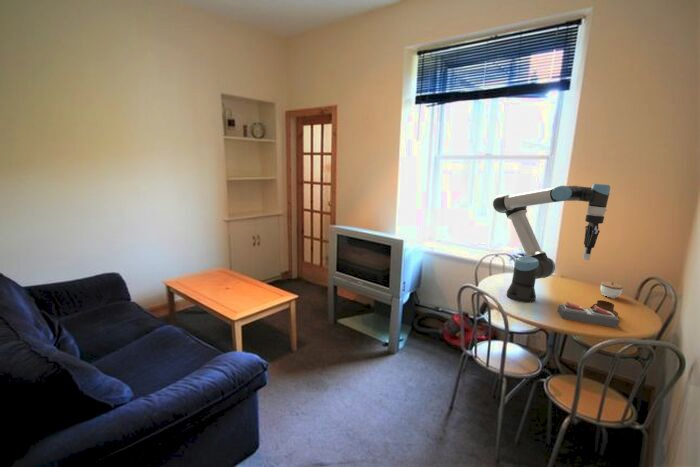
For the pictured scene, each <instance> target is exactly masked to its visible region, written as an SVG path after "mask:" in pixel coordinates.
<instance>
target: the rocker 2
mask: <svg viewBox="0 0 700 467" xmlns="http://www.w3.org/2000/svg"><path fill="white" fill-rule="evenodd" d="M593 305H594V304H593ZM593 308H594V309H595V310H597V311H599V312H601V313H604V314H606V315H612V314H611V313H610V312H609V311H606V310H604V309H602V308H599V307H597V306H596V305H594V307H593Z"/></svg>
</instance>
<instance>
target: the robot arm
mask: <svg viewBox="0 0 700 467" xmlns="http://www.w3.org/2000/svg"><path fill="white" fill-rule="evenodd" d="M610 192H611V186H610V185H609V184H604V183H603V184H602V183H592V186H590V187H589V186H579V185H559V186H558V185H557V186H555V187H551V188H545V189H539V190H534V191H529V192H528V191H527V192H523V193H518V194H517V193H513V194H512V193H504V194H503V193H502V194H499V195H497V196H495V198H494V199H493V202H492V207H493V209H494V210H495V212H498V213H500V214H505V216H506V218H507V219H509V220H511V223H512V225H513V228H514V230H515V233H516V234H517V237H518V239H519V241H520V244H521V247H522V249H523V252H524V253H525V255H524V256H519V257H517V258H516V259H515V262H514V267H513V274H512V279H511V283H510V285H509V286H508V288H507V290H506V296H507V298H510V299H511V300H514V301H518V302H521V303H534V302H536V299H537V295H536V288H535V284H536V280H538V279H545V278H548V277H551V276H552V275H553V274H554V273H555V270H556V264H555V262H554V260H553V259H552V258H550V257H548V256H547V252H546V251H542V249H541V246H540V244H539V242H538V239H537V238H536V235H535V233H534V230H533V228H532V226H531V223H530V222H529V219H528V217H527V212H528V210H527V208H528V207H530V206H531V207H532V206H538V205H544V204H545V205H546V204H552V203H560V202H569V201H570V202H576V201H577V202H586V203H588V205H587V209H586V216H585V222H586V223H588V224H587V226H586V225H585V227H584V228H585V232H584V241H583V245H584V249H583V255H582V260H584V261H585V260H586V261H590V260H591V254H592V250H593V248H595V246H596V242H597V240H598V236H599V234H600V232H601V230H600V229H599V224H600V225H601V224H603V223H604V219H605V215H606V212H607V211H608V209H607V205H608V201H609V197H610V195H611V194H610Z"/></svg>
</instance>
